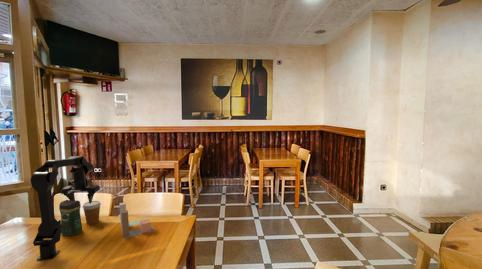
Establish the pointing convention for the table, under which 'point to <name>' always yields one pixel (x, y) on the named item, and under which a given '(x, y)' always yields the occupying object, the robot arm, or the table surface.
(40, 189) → the robot arm
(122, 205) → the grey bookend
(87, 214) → the disposable coffee cup
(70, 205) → the coffee jar
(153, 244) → the table surface
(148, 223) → the terracotta cube
